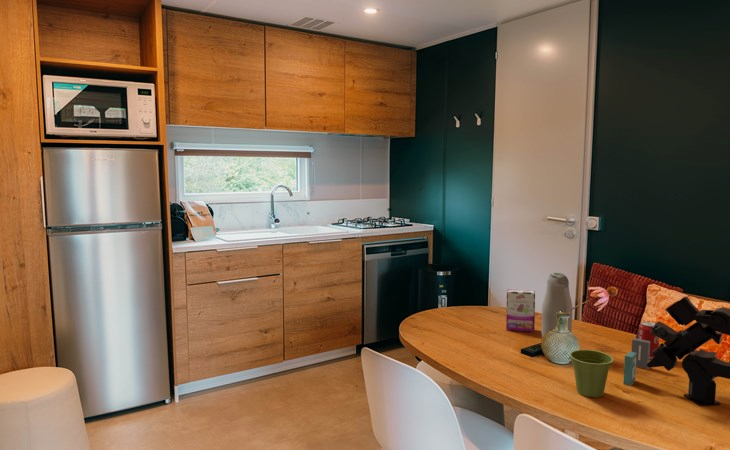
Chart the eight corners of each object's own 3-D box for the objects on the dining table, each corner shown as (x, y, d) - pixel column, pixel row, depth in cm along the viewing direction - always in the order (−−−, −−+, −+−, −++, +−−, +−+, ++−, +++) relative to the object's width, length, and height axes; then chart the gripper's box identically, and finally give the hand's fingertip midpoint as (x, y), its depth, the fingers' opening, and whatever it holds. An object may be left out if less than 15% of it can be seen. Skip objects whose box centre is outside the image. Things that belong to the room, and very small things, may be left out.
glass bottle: (576, 350, 190) (579, 274, 187) (554, 354, 186) (556, 277, 183) (557, 341, 199) (559, 269, 196) (535, 345, 195) (537, 272, 192)
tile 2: (636, 380, 162) (637, 353, 161) (631, 385, 159) (632, 357, 158) (627, 378, 164) (629, 351, 163) (622, 383, 160) (624, 355, 159)
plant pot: (575, 381, 162) (576, 346, 161) (616, 391, 155) (618, 355, 153) (562, 394, 153) (563, 357, 152) (605, 405, 146) (607, 367, 144)
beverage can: (660, 360, 179) (662, 327, 178) (640, 359, 180) (642, 325, 179) (654, 354, 185) (656, 321, 184) (635, 353, 186) (637, 320, 185)
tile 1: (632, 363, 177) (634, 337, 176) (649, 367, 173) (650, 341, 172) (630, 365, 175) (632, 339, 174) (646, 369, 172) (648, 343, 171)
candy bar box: (534, 329, 214) (535, 290, 213) (534, 332, 210) (535, 293, 208) (506, 326, 218) (507, 288, 216) (505, 330, 213) (506, 291, 211)
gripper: (677, 308, 159) (637, 336, 168) (662, 322, 145) (618, 351, 154) (706, 339, 154) (663, 366, 163) (693, 356, 141) (646, 384, 149)
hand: (647, 366), depth 157 cm, fingers closed
